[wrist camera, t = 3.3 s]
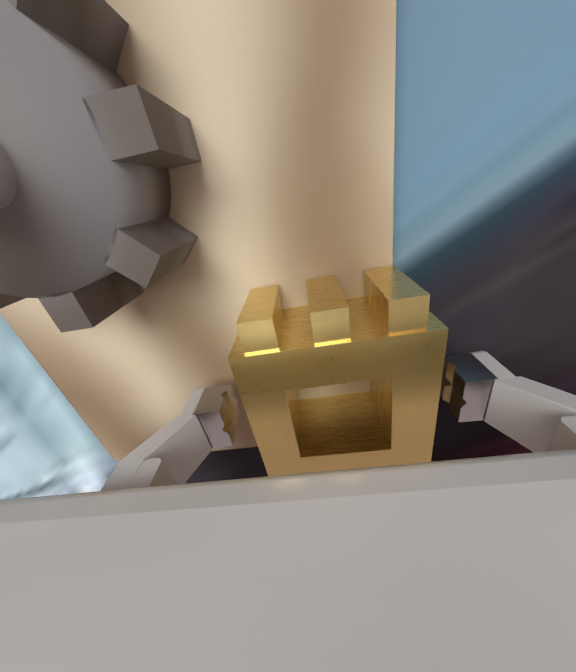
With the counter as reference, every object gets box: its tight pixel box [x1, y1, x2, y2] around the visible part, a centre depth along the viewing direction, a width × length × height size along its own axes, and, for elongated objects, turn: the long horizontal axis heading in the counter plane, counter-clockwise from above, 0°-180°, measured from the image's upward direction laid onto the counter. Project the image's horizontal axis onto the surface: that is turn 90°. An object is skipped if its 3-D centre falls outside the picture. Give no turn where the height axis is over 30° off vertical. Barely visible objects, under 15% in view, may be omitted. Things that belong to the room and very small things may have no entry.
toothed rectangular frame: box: [228, 265, 448, 476], centre depth 10 cm, size 6×8×3 cm
